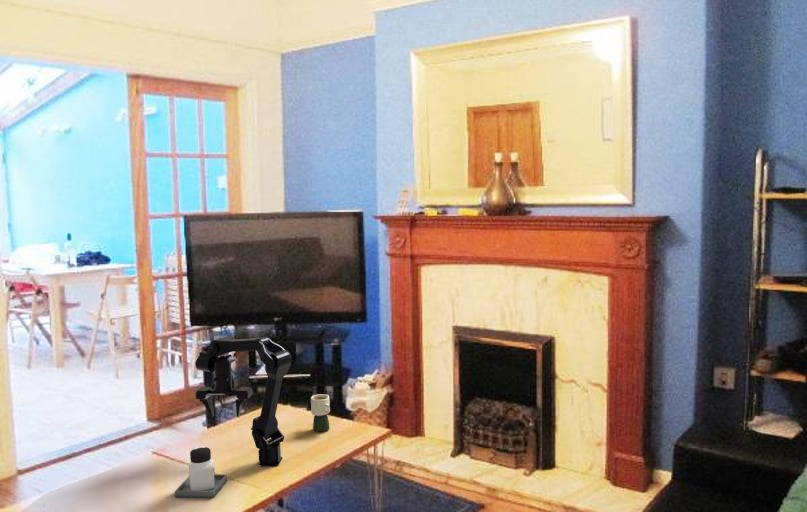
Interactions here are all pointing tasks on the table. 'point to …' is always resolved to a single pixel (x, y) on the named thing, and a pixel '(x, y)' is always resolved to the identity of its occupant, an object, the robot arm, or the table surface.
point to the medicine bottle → (201, 470)
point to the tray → (186, 492)
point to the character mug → (320, 411)
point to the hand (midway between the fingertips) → (225, 416)
